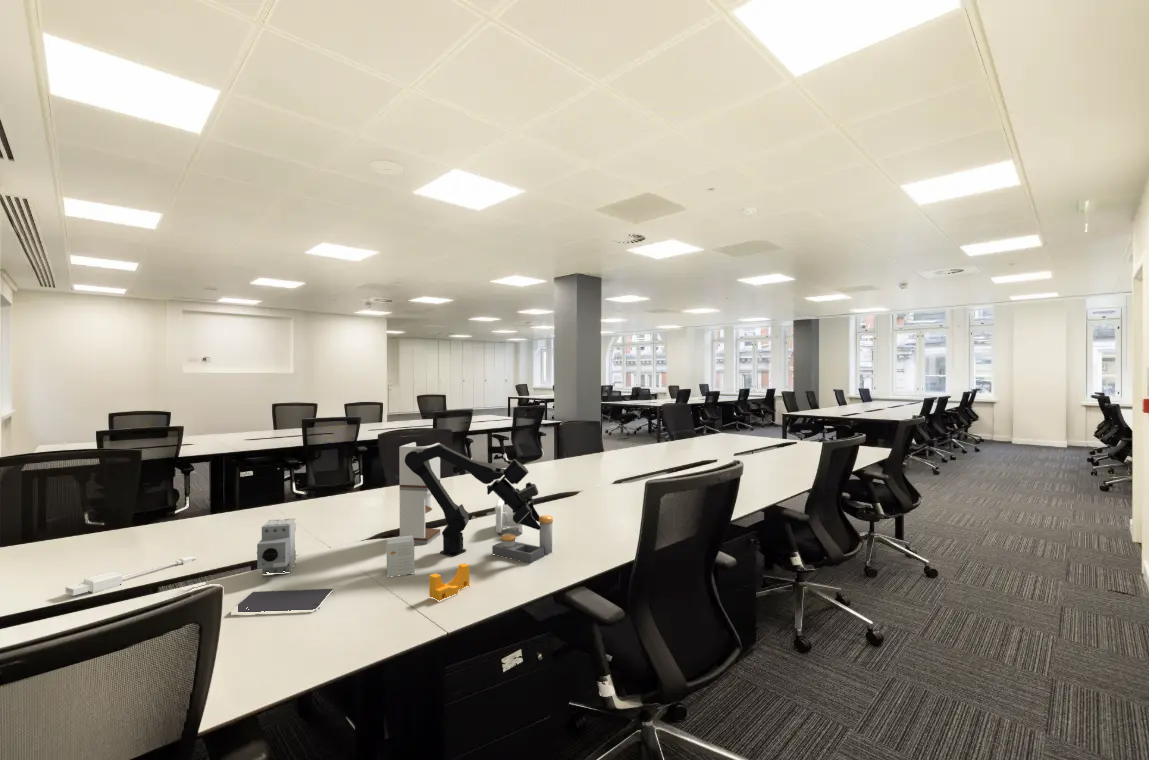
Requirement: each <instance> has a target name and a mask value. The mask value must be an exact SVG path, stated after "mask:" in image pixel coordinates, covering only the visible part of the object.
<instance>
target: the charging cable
mask: <svg viewBox="0 0 1149 760" xmlns="http://www.w3.org/2000/svg"><path fill="white" fill-rule="evenodd" d="M196 559H198V558H197V557H195V556H189V555H188V556H184V557H180V558H178V560H177V559H176V560H175V562H171V563H167V564H163V565H159V566H155V567H152V568H148V569H144V570H140V571H137V572H132V573H129V574H126V575H125V574H124V575H123V574H122V573H119V572H116V571H111V572H106V573H102V574H98V575H95V576H91V577H88V578H86V577H85V578H84V579H83V582H79V583H75V584H71V585H67V586H65V594H68V595H71V596H77V595H80V594H85V593H89V592H92V593H91V594H94V593H93V592H96V593H98V592H97V591H99V592H101V591H100V590H102V591H105V590H104V589H106V590H109V589H112V588H115V587H114V586H116V585H119V584H122V585H123V581H124V579H126V578H128V577H129V578H130V577H132V576H133V577H134V576H136V575H139V574H140V575H141V574H143V573H148V572H150V571H151V572H152V571H154V570H160V569H162V568H166V567H169V566H174V565H186V564H189V563H188V562H190V561H192V562H193V560H196ZM182 563H183V564H182ZM185 563H186V564H185ZM190 563H191V562H190ZM119 586H120V585H119ZM111 587H112V588H111ZM116 587H117V586H116ZM108 588H109V589H108ZM88 591H89V592H88Z"/></svg>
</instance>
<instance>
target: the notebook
mask: <svg viewBox="0 0 1149 760" xmlns="http://www.w3.org/2000/svg"><path fill="white" fill-rule="evenodd" d="M332 590H334V589H333V588H316V589H315V588H314V589H312V588H311V589H292V590H291V589H290V590H289V589H288V590H287V589H286V590H264V591H252V592H251V593H250V594H248V595H247V597H245V598H244V599H243V600H242V601H240V602H239V603H238V604H237V605H238V612H261V611H264V612H265V611H288V610H289V611H291V610H313V609H316V608H317V607H318V606H319V605H320V604H321V602H322V601H323V600H324V599H325V598H326V596H327V595H328V594H329V593H330V592H331V591H332ZM247 607H248V608H247ZM246 608H247V609H246ZM248 609H249V610H248Z"/></svg>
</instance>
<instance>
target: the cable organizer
mask: <svg viewBox="0 0 1149 760" xmlns="http://www.w3.org/2000/svg"><path fill="white" fill-rule="evenodd" d="M512 511H513V510H512V509H511V508H510V507H509V506H508V505H507V504H506V505H505V504H504V501H503V500H502V499H501V498H500V497H499V499H498V500H497V501H496V505H495V507H494V512H495V513H496V515H495V529H496V530H495V531H496V533H497V534H502V532H503V529H506V530H507V529H508V527H513V529H514V530H516V529H517V530H518V531H517V532H518V533H520V532H522V533H523V532H524V527H525V525H522V524H516V523H515V522H514V521H513V514H514V513H513V512H512Z"/></svg>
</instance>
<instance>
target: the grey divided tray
mask: <svg viewBox="0 0 1149 760" xmlns="http://www.w3.org/2000/svg"><path fill="white" fill-rule="evenodd" d="M516 539H517V538H516V534H513V533H504V534H501V541H500V542H498V543H496V544H494V545H491V546H492V547H491V549H492V550H491V552H492V553H491V554H495V555H494V556H496V555H499V556H498V557H500V556H503V557H502V558H505V557H507V558H506V559H509V558H512V559H511V560H513V559H516V560H515V561H518V560H520V561H519V562H522V561H524V562H523V563H527V562H528V563H527V564H533V563H535V562H536V561H538V560H540V559H542V558H544V557H545V554H544V547H540V545H539V546H538V545H533V544H530V543H529V544H528V543H523V542H519V541H516ZM534 561H535V562H534Z"/></svg>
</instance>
